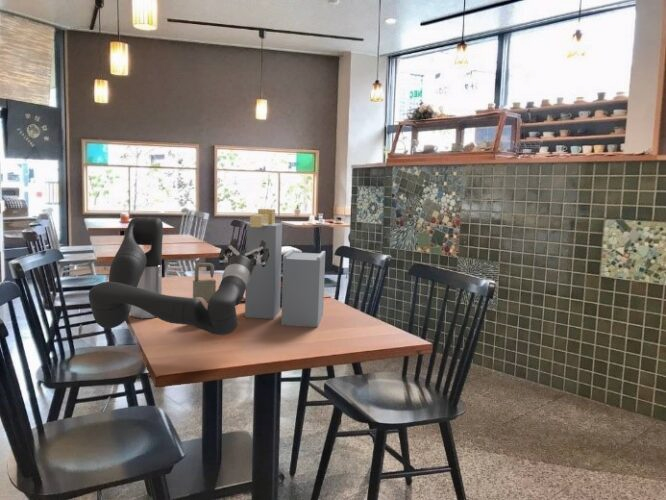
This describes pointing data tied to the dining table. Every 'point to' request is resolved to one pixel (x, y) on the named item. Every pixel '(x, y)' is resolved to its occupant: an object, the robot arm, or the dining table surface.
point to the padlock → (204, 283)
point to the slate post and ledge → (284, 281)
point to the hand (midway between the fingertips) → (249, 241)
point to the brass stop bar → (263, 218)
